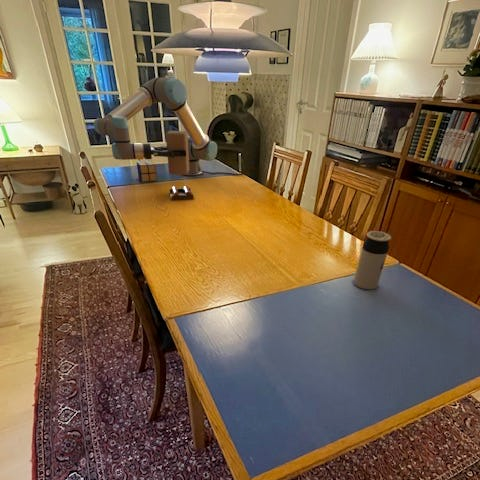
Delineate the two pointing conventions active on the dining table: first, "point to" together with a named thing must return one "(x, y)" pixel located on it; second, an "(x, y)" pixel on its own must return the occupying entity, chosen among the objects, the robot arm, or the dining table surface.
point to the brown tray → (181, 193)
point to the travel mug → (372, 259)
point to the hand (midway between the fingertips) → (184, 150)
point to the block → (178, 142)
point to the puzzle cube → (147, 171)
